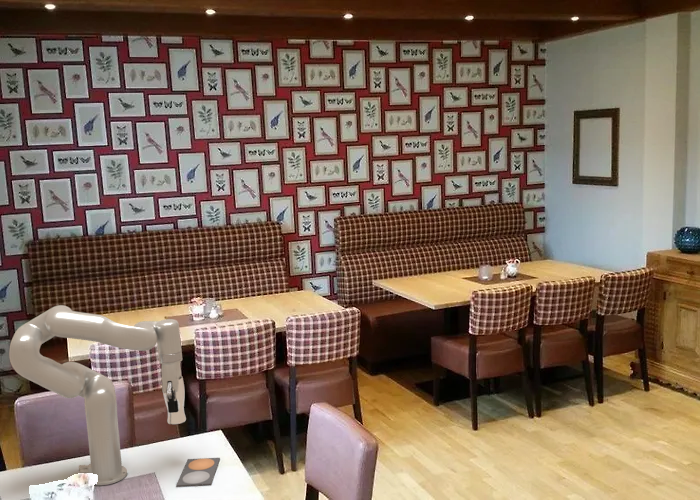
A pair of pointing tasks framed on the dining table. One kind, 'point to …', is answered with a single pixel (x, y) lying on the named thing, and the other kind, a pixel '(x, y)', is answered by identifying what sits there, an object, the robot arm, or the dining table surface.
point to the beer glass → (180, 415)
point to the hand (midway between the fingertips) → (175, 407)
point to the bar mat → (198, 472)
